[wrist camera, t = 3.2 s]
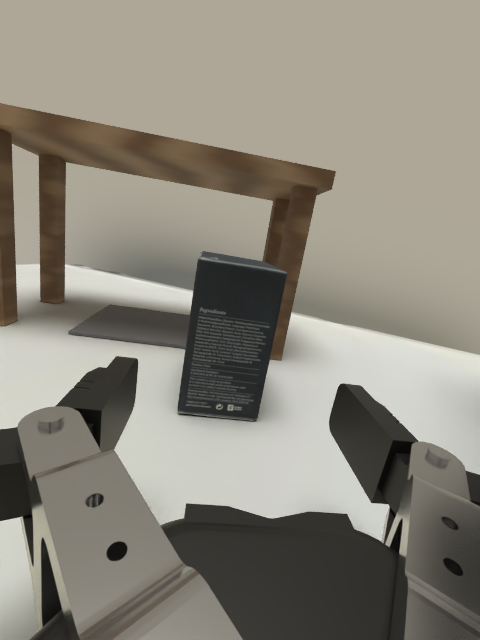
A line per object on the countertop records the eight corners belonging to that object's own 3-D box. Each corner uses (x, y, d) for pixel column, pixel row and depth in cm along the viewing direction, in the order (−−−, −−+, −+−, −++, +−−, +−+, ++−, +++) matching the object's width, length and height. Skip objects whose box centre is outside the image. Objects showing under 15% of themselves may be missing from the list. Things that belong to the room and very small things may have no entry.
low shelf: (269, 326, 45) (295, 192, 40) (291, 365, 32) (335, 171, 27) (45, 295, 41) (44, 144, 36) (-38, 324, 28) (-57, 91, 23)
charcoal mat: (210, 320, 43) (210, 318, 43) (207, 351, 32) (208, 348, 31) (109, 306, 41) (109, 304, 41) (68, 334, 30) (68, 331, 30)
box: (258, 423, 21) (289, 270, 18) (175, 415, 20) (195, 255, 17) (246, 372, 28) (266, 259, 25) (185, 366, 27) (200, 249, 25)
